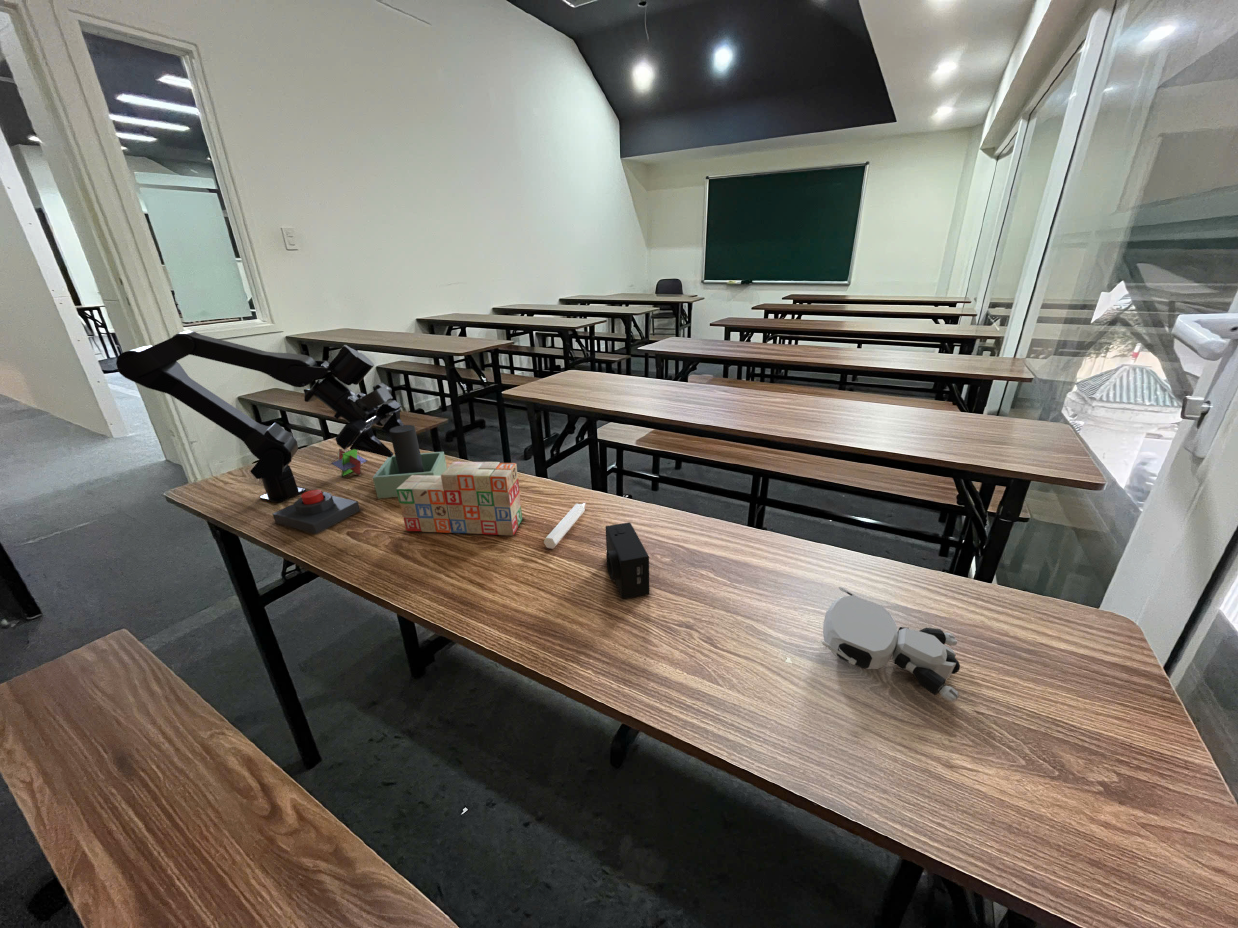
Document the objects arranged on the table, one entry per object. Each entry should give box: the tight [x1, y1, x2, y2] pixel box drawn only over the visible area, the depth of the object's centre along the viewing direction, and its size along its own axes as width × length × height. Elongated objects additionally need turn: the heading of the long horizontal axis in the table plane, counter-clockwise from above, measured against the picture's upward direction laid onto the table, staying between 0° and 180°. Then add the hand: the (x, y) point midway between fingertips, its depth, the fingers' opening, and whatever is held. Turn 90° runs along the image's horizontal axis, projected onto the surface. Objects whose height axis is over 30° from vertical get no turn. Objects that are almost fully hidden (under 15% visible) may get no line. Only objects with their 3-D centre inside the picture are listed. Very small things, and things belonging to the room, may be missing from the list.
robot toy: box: [821, 586, 961, 703], centre depth 60 cm, size 12×4×15 cm
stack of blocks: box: [396, 461, 523, 536], centre depth 91 cm, size 21×6×12 cm, turn 84°
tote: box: [372, 451, 448, 499], centre depth 110 cm, size 13×13×5 cm
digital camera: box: [604, 522, 650, 600], centre depth 75 cm, size 10×5×7 cm, turn 14°
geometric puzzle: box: [330, 448, 369, 477], centre depth 116 cm, size 7×7×8 cm
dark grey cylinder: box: [389, 424, 424, 474], centre depth 108 cm, size 5×5×13 cm
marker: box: [543, 502, 586, 550], centre depth 91 cm, size 3×2×16 cm
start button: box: [300, 489, 324, 505], centre depth 96 cm, size 4×4×2 cm
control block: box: [272, 491, 361, 535], centre depth 97 cm, size 12×10×4 cm
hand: (402, 448), depth 108 cm, fingers open, 9 cm apart
